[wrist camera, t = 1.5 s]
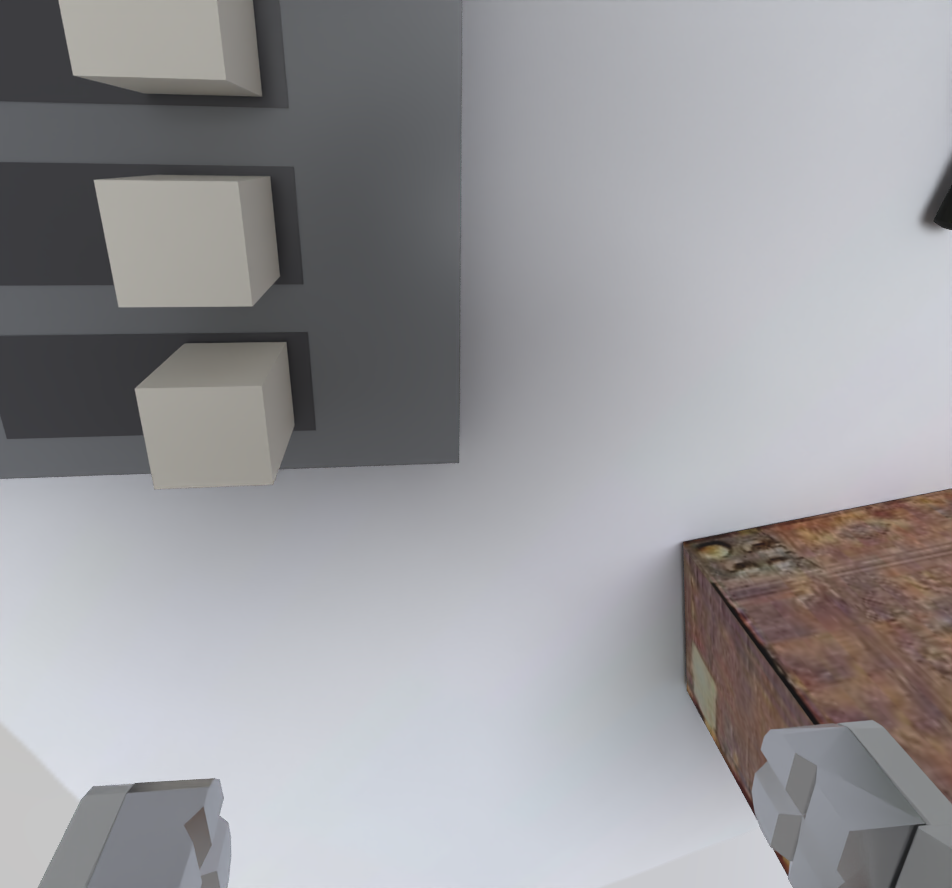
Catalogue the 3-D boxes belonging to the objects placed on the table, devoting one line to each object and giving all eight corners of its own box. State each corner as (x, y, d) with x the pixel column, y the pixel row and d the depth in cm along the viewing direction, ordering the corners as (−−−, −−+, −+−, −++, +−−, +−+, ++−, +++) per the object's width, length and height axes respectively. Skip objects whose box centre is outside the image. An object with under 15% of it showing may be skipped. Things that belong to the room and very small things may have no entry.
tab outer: (184, 343, 23) (134, 388, 19) (286, 341, 24) (261, 385, 19) (197, 427, 25) (154, 489, 20) (294, 425, 25) (273, 484, 21)
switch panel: (-314, -114, 19) (-394, -145, 17) (456, -71, 21) (463, -93, 20) (-106, 460, 26) (-146, 485, 24) (454, 443, 29) (459, 464, 27)
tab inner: (124, -33, 19) (40, -92, 15) (250, -27, 19) (207, -83, 15) (144, 93, 20) (73, 75, 16) (262, 96, 21) (225, 79, 16)
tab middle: (157, 174, 21) (93, 179, 17) (270, 176, 22) (237, 181, 17) (173, 276, 23) (118, 307, 18) (280, 276, 23) (252, 306, 18)
